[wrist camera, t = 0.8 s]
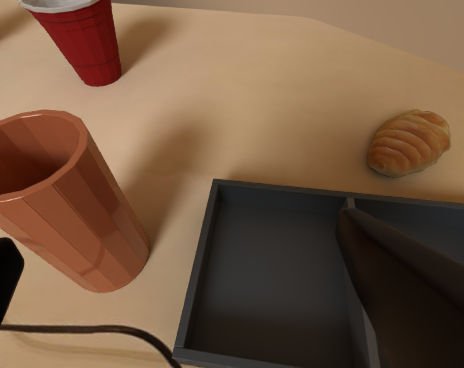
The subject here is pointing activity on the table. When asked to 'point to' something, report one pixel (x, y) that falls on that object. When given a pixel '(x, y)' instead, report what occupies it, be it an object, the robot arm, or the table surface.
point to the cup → (67, 201)
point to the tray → (291, 277)
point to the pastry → (409, 143)
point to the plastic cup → (82, 36)
